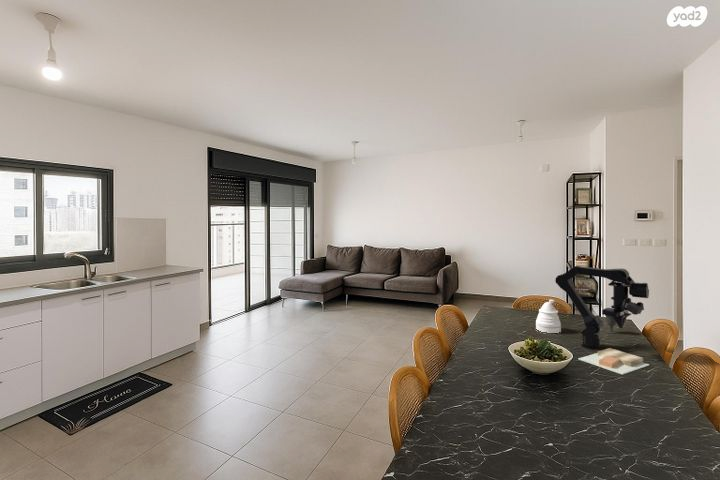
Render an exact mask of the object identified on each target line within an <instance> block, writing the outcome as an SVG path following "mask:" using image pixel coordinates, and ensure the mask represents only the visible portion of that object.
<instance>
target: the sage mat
mask: <svg viewBox="0 0 720 480" xmlns="http://www.w3.org/2000/svg"><path fill="white" fill-rule="evenodd" d="M577 359H578V360H579V361H582V362H584V363H588V364H591V365H593V366H597V367H599V368H603V369H605V370H608V371H611V372H613V373H616V374H619V375H626V374H628V373H631V372H634V371H637V370H640V369H643V368H645V367H648V366H650V363H646V362H643V363H640V364H637V365H634V366H631V367H630V366H627V365H624V364H621V363H620V364H618V365H617V366H615V367H613V368H609V367H606V366H602V365H599V360H600V359H602V357H599V356H598V352H597V353H593V354H589V355H584V356H581V357H579V358H577Z"/></svg>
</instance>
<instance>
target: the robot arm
mask: <svg viewBox="0 0 720 480" xmlns="http://www.w3.org/2000/svg"><path fill="white" fill-rule="evenodd" d="M577 275H583V276H590V277H597V278H598V277H599V278H604V279H607V280H610V282H608V286H610V287H613V291H612V292H613V296H611V297H610V299H611V300H613V303H612V305H611V307H606V308H603V309H601V310H602V315H604V316H605V315H608V316H612V317H613V318H614V319H615V321H616V324H617V326H618V328H619V329H623V327H624V325H625V323H626V320H627V318H628V317H629V316H631V315H632V314H633V315H641V314H642V311H645V308H644V303H643V302H641V301H638V302H632V298H631V297H633V298H642V299H648V298H649V297H650V296H649V295H650V289H649V284H648V283H647V282H636V281H634V279H633V278H632V277H631V276H630V272H629V271H628V270H627V269H626V268H607V269H606V268H599V267H598V268H597V267H588V266H580V265H575V266H573V267H571V268H570V269H569V270H568V271H566V272H565V273H562V274H560V275H557V276H556V277H555V280H554V281H555V283H556V285H557V286H558V287H559V288H560V289H561V290H562V291H564V292H565V293H566V295H568V297H569V298H570V300H571V302H572V303H573V304H574V306H575V308H576V309H577V311H578V313H579V314H580V315H581V317H582V319H583V323H584V326H585V328H583V329H582V330H581V331H580V332H581V335H582V343H581V344H580V346H581V347H584V348H587V349H590V350H596V349H599V348H601V347H602V346H601V345H600V338H599V335H598V334H599V332H602V330H603V329H604V321H603V320H602V319H601V317H600V315H599V314H597V315H594V313H592V311H591V310H590V309H589V307H588V305H587V304H586V303H585V301H584V299H583V298H582V297H581V295H580V294H579V292H578V291H577V290H576V288H575V283H574V281H573V279H574V278H575V277H576V276H577ZM629 295H630V296H631V297H629Z"/></svg>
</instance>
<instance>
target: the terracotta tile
mask: <svg viewBox="0 0 720 480" xmlns="http://www.w3.org/2000/svg"><path fill="white" fill-rule="evenodd" d="M618 364H620V359H618V358H614V357H610V356H606V357H604V358H602V359H600V360H599V365H602V366H606V367H609V368H613V367H615V366H617V365H618Z"/></svg>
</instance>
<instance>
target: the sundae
mask: <svg viewBox="0 0 720 480" xmlns="http://www.w3.org/2000/svg"><path fill="white" fill-rule="evenodd" d="M604 316H605V319H606V324H607V326H609V330H606V331H605V332H606V333H607V334H610V335H616V334H617V332H616V331H614V330H613V327H615V325H616V324H617V323H616V321H615V319H614V318H613V317H612V316H608V315H604Z"/></svg>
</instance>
